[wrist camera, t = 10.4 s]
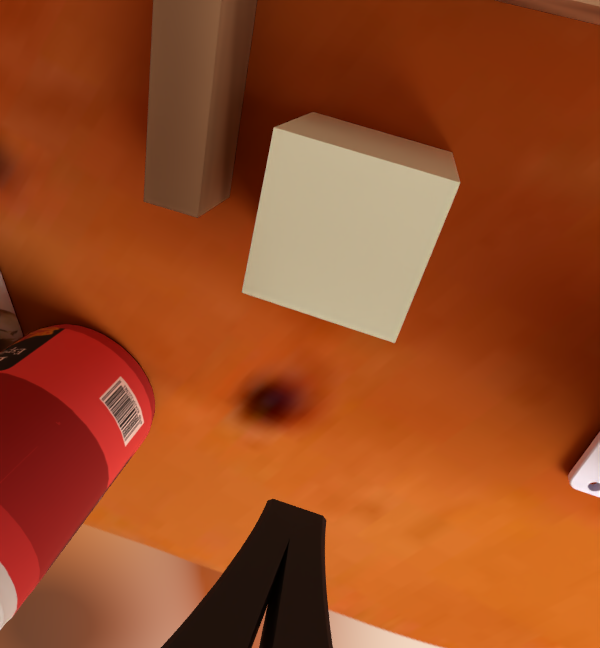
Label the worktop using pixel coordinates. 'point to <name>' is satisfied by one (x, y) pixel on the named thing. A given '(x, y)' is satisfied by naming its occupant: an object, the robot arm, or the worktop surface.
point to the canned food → (61, 443)
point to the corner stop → (219, 95)
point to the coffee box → (7, 320)
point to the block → (347, 222)
